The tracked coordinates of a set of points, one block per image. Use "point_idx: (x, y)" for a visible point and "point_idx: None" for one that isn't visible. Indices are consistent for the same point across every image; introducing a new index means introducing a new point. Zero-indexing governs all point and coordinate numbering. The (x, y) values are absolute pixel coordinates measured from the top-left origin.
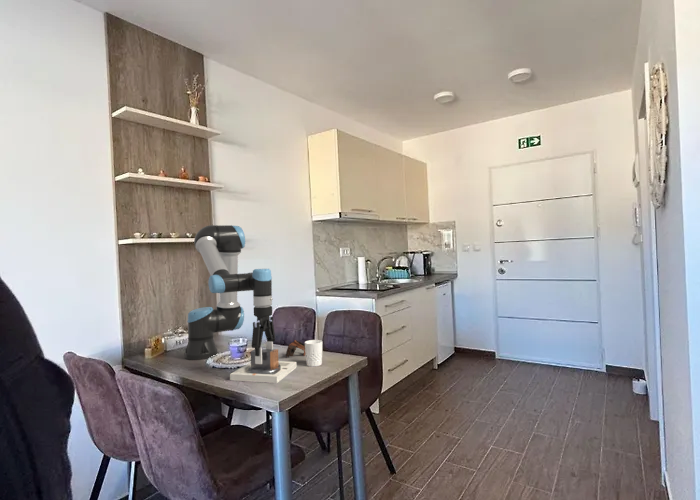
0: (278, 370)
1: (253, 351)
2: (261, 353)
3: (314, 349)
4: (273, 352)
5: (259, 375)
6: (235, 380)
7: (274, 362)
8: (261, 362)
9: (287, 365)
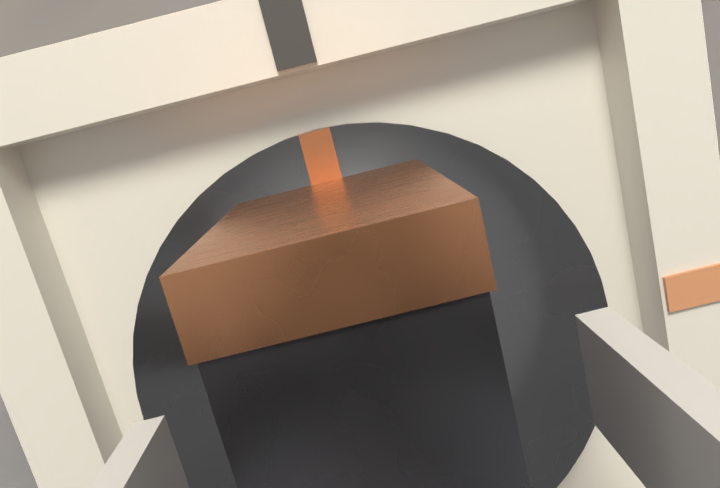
0: (339, 125)
1: None
2: (699, 398)
3: None
4: (467, 197)
5: (715, 183)
6: None
7: (393, 179)
8: (617, 316)
9: (121, 103)
